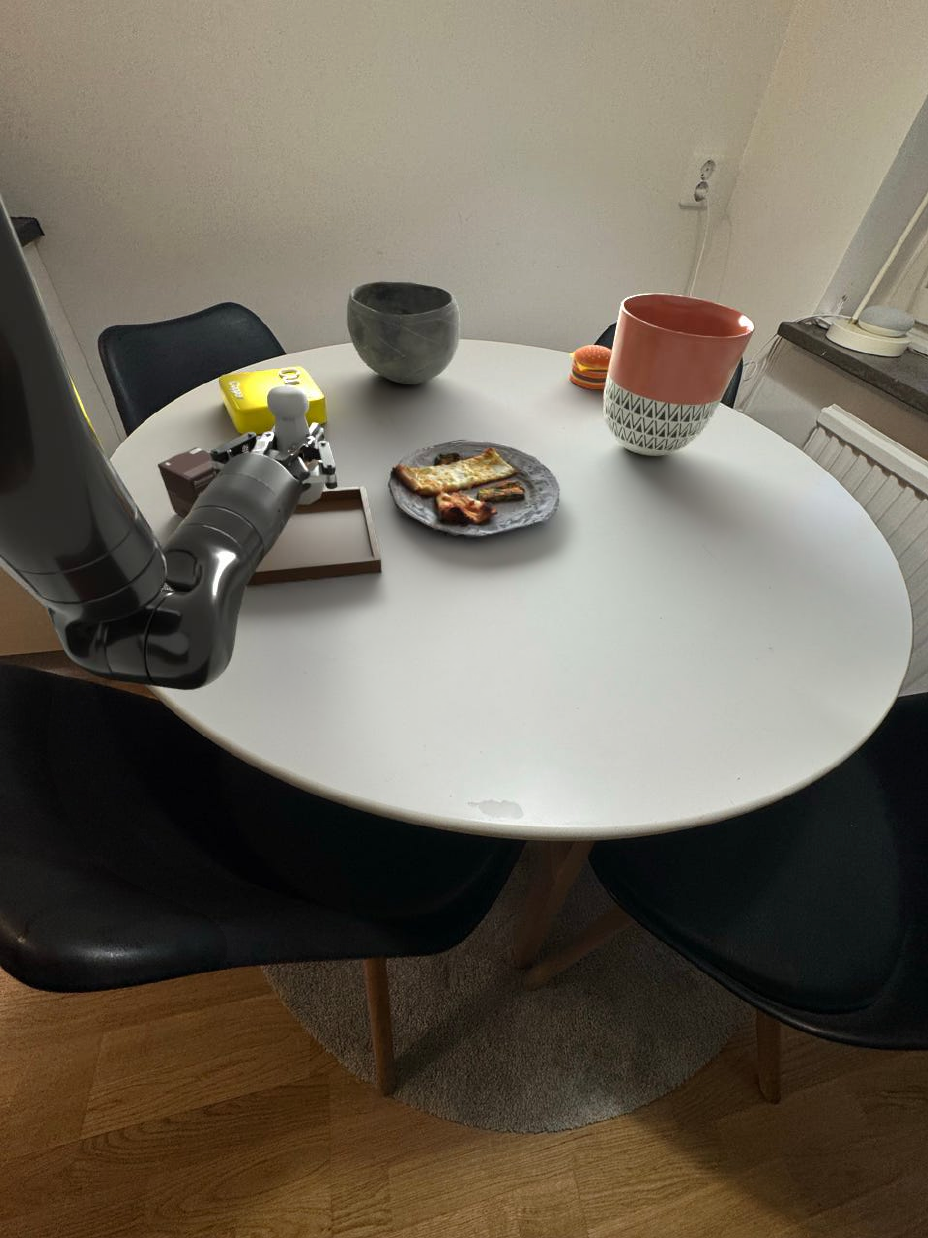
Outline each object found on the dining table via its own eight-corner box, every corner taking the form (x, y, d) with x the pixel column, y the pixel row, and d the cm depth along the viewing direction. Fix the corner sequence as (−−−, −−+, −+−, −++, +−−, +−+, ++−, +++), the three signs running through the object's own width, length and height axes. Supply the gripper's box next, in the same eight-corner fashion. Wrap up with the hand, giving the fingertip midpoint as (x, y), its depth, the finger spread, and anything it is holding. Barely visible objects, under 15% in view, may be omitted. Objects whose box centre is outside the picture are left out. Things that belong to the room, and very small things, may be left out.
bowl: (346, 358, 114) (339, 275, 103) (444, 356, 119) (448, 277, 108) (356, 402, 100) (350, 312, 89) (468, 398, 105) (475, 312, 94)
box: (204, 529, 71) (188, 480, 66) (173, 513, 73) (155, 463, 68) (241, 508, 75) (228, 460, 70) (210, 493, 77) (196, 445, 72)
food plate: (424, 560, 70) (425, 538, 67) (367, 469, 84) (366, 448, 82) (585, 522, 79) (591, 501, 76) (508, 445, 93) (511, 426, 90)
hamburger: (619, 390, 113) (628, 356, 108) (575, 390, 111) (582, 356, 107) (604, 371, 119) (612, 339, 115) (562, 371, 118) (569, 338, 113)
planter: (623, 482, 87) (669, 340, 72) (569, 425, 100) (598, 294, 84) (722, 469, 93) (784, 334, 77) (659, 417, 105) (701, 292, 90)
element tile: (222, 399, 97) (215, 371, 93) (305, 388, 102) (302, 362, 99) (239, 438, 88) (232, 409, 85) (330, 424, 93) (327, 396, 90)
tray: (240, 587, 64) (236, 573, 63) (244, 507, 75) (241, 493, 74) (381, 572, 68) (381, 559, 66) (365, 498, 79) (364, 485, 77)
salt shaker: (337, 493, 67) (326, 388, 58) (304, 514, 64) (286, 406, 55) (302, 478, 69) (286, 373, 60) (268, 497, 66) (245, 389, 57)
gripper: (313, 485, 49) (360, 404, 61) (159, 466, 49) (236, 389, 61) (322, 551, 54) (364, 464, 66) (183, 534, 54) (250, 451, 66)
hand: (302, 429), depth 64 cm, fingers closed on salt shaker, 3 cm apart
